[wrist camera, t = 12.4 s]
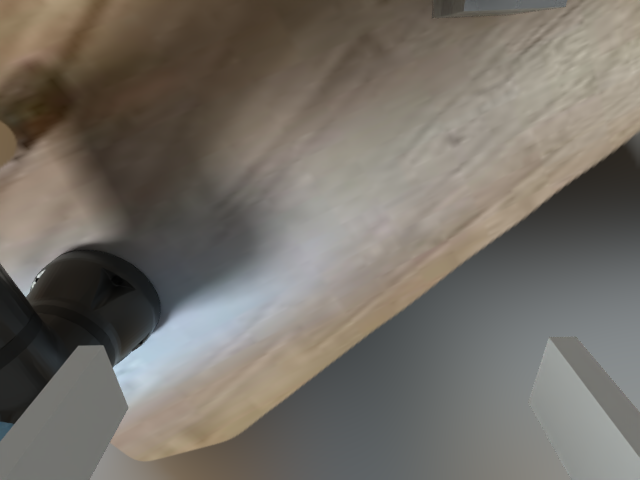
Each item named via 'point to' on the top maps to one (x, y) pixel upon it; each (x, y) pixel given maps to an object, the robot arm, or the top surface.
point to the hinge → (490, 7)
